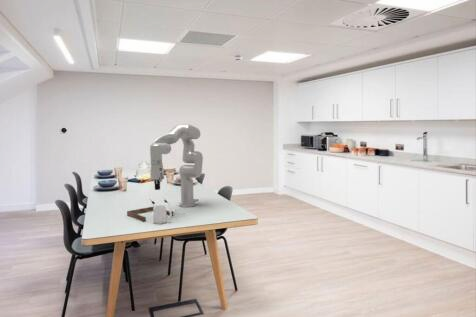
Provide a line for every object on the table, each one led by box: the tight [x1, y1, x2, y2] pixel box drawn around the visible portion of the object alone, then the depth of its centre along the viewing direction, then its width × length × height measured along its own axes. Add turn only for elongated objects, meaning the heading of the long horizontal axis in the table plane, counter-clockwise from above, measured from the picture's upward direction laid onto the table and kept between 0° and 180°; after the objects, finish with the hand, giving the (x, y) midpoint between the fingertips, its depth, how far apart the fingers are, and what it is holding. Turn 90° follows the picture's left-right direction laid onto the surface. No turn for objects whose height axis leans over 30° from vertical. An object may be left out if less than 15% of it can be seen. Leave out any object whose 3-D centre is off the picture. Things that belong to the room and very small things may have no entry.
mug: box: [152, 204, 173, 225], centre depth 236 cm, size 12×8×10 cm
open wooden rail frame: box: [126, 205, 174, 223], centre depth 254 cm, size 22×24×3 cm
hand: (157, 189), depth 246 cm, fingers closed
